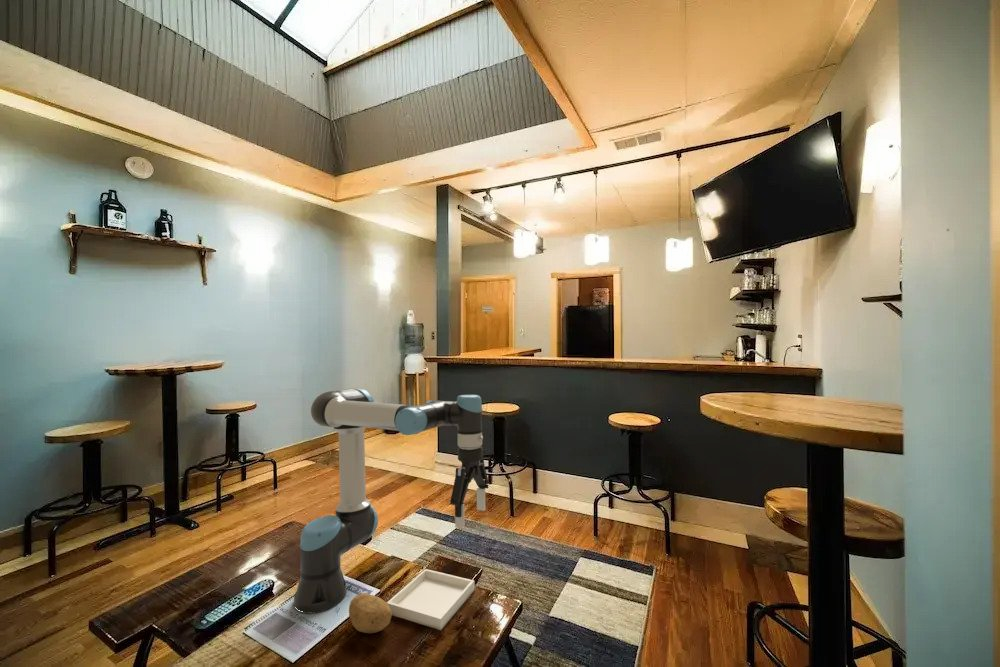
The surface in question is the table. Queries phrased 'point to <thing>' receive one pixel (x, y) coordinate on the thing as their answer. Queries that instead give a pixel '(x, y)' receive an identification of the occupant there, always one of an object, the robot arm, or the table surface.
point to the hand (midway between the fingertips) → (471, 518)
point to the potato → (369, 613)
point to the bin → (431, 598)
